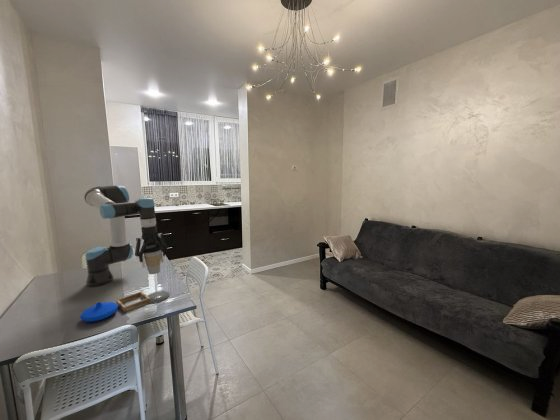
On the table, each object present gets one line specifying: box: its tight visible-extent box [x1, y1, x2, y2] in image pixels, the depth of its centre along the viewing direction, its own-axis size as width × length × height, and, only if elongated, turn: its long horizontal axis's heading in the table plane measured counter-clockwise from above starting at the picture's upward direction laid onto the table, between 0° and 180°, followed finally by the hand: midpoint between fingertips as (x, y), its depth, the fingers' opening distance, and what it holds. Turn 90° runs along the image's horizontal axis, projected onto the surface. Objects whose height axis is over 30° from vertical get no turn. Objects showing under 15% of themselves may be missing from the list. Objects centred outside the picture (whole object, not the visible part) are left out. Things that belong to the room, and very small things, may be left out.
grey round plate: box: [143, 290, 170, 304], centre depth 144 cm, size 13×13×1 cm
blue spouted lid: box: [79, 301, 119, 323], centre depth 126 cm, size 16×16×7 cm
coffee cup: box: [143, 244, 161, 275], centre depth 140 cm, size 9×9×15 cm
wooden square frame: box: [115, 290, 151, 313], centre depth 138 cm, size 13×13×2 cm
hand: (153, 264), depth 141 cm, fingers closed on coffee cup, 9 cm apart
